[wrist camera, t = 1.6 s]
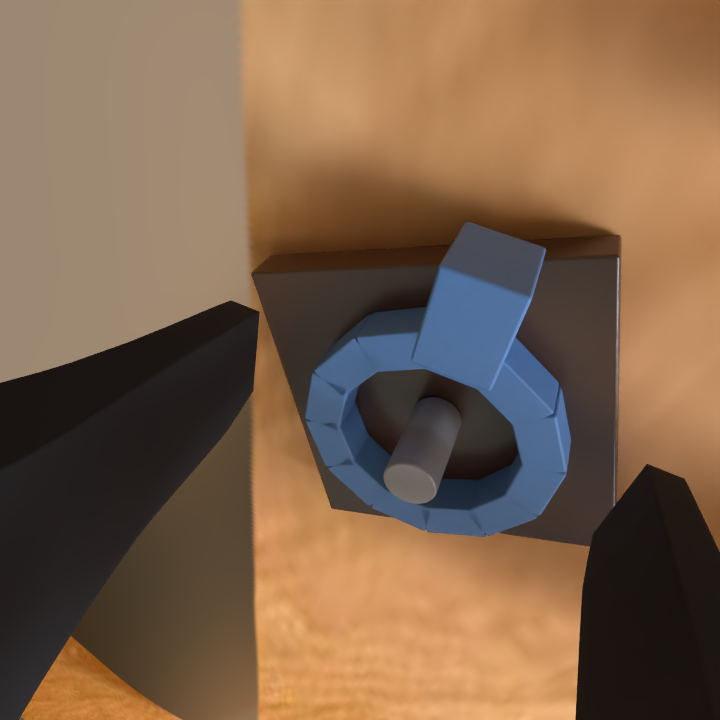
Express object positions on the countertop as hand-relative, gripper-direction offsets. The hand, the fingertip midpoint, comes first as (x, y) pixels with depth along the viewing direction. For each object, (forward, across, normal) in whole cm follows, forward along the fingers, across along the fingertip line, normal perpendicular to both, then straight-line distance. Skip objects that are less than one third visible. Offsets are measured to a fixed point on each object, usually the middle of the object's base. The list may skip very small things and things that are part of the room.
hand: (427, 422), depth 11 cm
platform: (+10, 0, +7) cm, 12 cm away
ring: (+8, 0, +6) cm, 10 cm away
